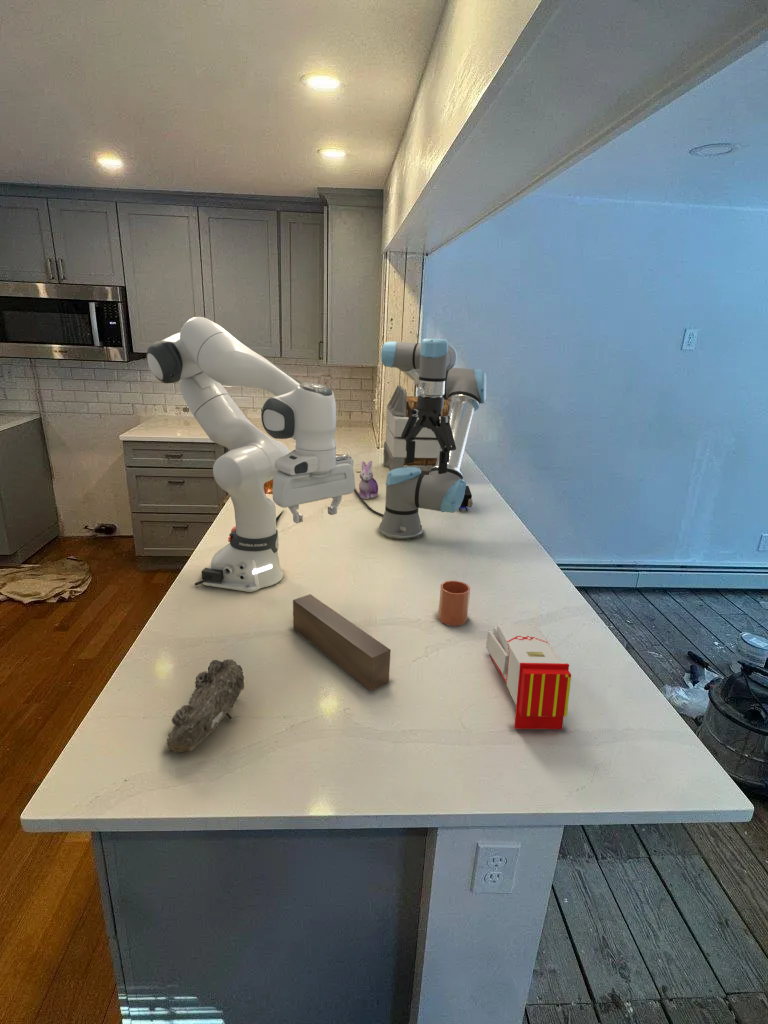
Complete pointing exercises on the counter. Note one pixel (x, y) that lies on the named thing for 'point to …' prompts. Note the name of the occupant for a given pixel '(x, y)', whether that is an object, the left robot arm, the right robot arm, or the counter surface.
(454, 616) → the terracotta cup
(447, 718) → the counter surface
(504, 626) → the toy
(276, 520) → the feather
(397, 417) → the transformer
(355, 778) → the counter surface
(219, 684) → the fossil
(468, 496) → the figurine character
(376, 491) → the figurine
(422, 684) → the counter surface
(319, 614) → the walnut bar
